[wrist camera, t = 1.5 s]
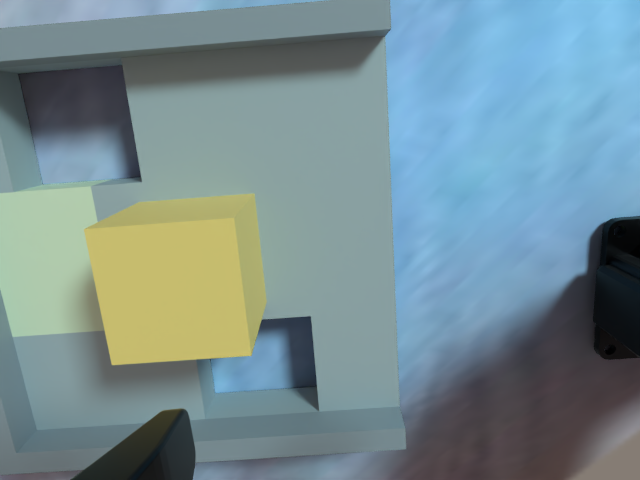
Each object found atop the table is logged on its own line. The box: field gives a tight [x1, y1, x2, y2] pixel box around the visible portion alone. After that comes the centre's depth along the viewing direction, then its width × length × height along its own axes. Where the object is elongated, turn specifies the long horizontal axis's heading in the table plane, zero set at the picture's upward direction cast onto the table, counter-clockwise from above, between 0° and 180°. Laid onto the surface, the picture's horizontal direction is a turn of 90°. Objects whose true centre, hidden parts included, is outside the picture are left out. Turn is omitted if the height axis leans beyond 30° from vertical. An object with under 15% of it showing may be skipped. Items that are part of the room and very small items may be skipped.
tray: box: [0, 0, 406, 475], centre depth 19 cm, size 17×17×4 cm
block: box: [84, 193, 267, 365], centre depth 17 cm, size 4×4×4 cm
